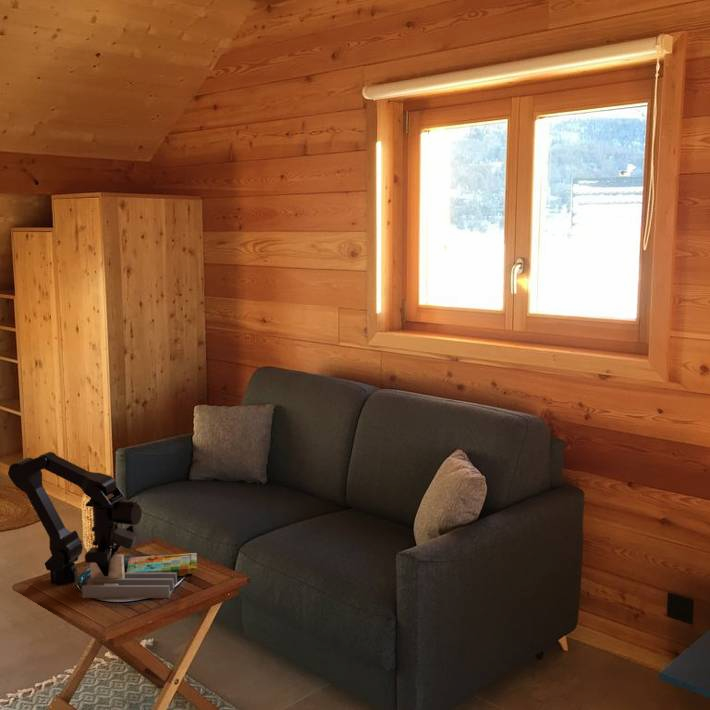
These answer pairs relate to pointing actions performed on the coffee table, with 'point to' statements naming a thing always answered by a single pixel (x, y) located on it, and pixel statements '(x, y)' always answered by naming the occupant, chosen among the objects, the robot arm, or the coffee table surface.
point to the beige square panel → (110, 568)
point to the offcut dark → (95, 583)
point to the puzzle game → (164, 563)
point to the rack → (133, 586)
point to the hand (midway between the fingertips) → (107, 574)
